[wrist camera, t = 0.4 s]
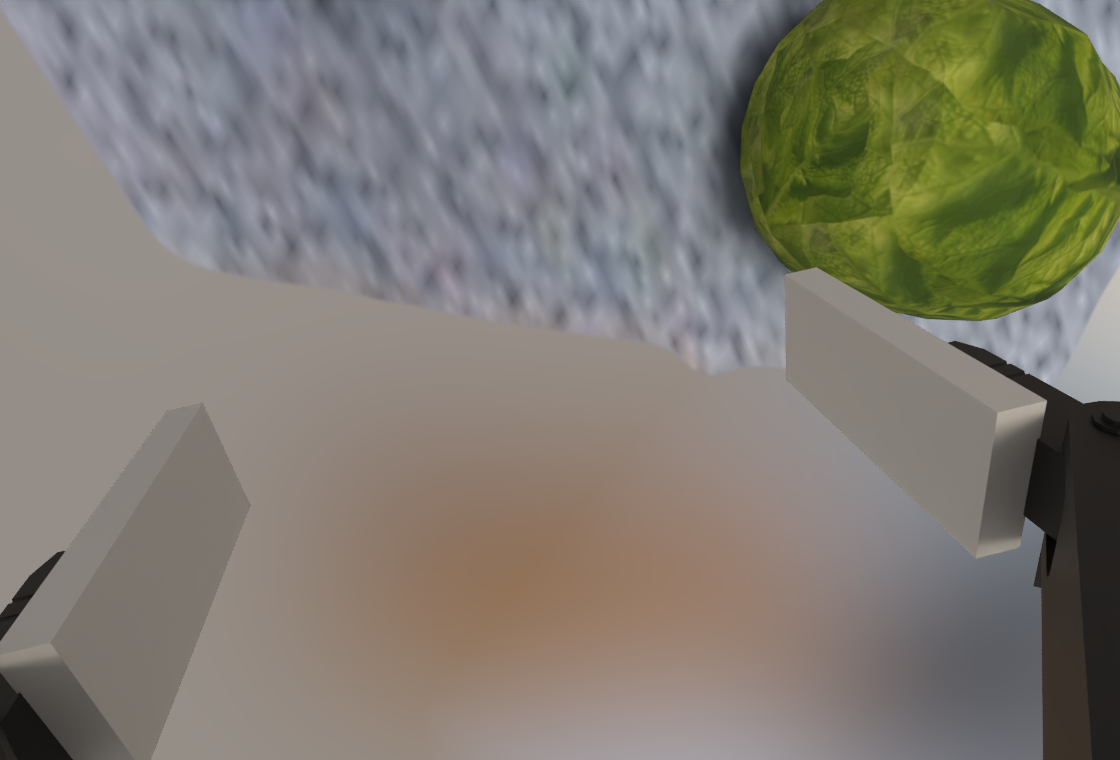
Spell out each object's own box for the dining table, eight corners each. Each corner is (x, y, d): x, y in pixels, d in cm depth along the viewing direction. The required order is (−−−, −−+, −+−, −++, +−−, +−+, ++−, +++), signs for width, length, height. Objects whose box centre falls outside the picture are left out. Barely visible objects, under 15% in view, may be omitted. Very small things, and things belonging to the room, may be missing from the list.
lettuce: (899, 294, 51) (1144, 346, 38) (678, 289, 40) (915, 358, 28) (957, 57, 46) (1256, 27, 34) (725, -18, 36) (1032, -100, 23)
